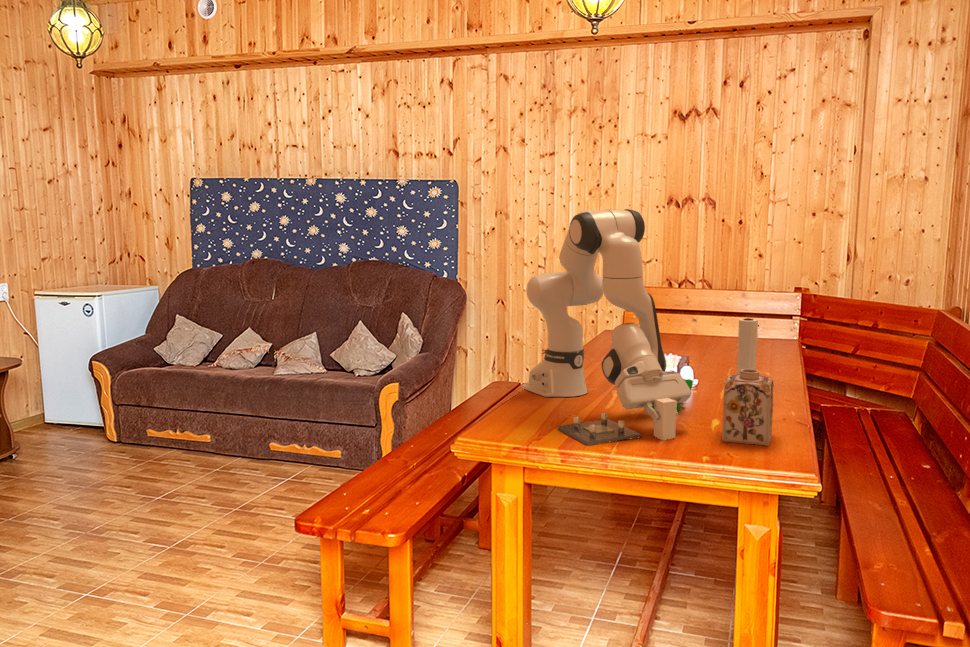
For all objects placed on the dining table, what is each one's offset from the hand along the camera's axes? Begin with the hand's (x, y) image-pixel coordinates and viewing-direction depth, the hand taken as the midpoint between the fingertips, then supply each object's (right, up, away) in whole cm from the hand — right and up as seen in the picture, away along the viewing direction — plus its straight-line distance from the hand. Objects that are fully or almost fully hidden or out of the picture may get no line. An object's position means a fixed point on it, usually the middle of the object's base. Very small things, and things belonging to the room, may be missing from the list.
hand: (666, 417), depth 211 cm
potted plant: (+10, 0, +38) cm, 40 cm away
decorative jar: (+21, -5, 0) cm, 22 cm away
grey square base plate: (-17, -5, +5) cm, 18 cm away
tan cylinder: (+41, +5, +63) cm, 75 cm away
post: (0, -5, +1) cm, 5 cm away
